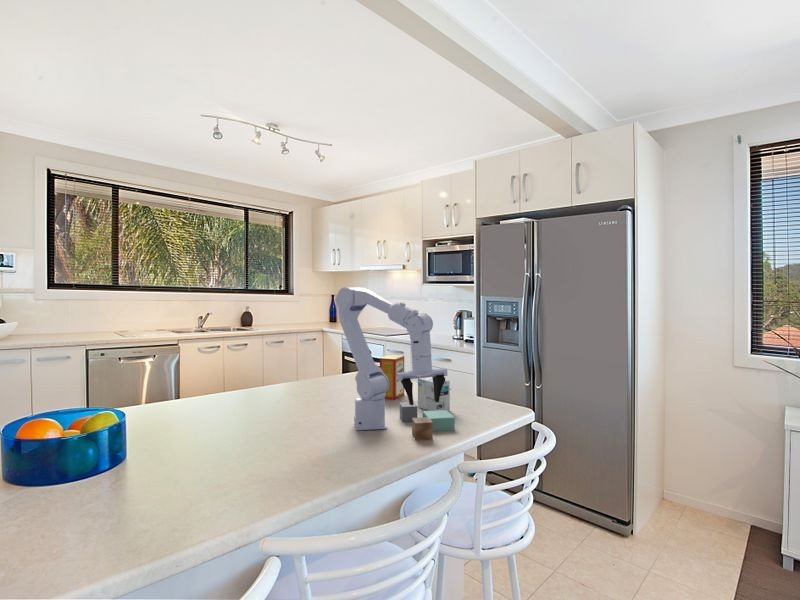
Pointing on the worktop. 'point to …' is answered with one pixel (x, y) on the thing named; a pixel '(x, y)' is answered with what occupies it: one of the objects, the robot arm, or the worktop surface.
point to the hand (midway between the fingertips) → (424, 403)
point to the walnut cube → (422, 428)
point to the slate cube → (408, 412)
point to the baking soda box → (393, 374)
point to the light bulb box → (427, 395)
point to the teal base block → (441, 419)
